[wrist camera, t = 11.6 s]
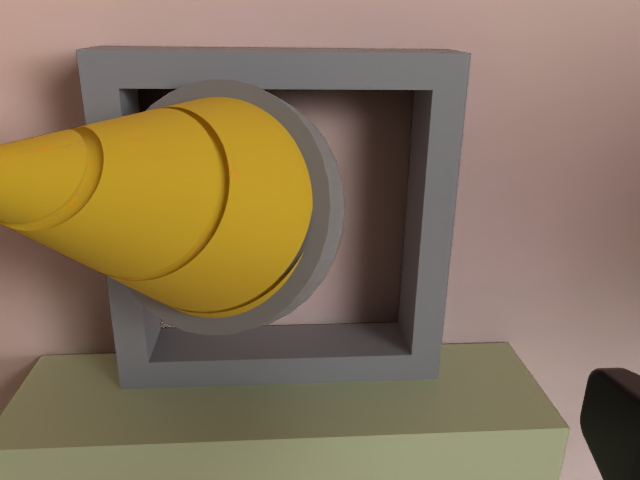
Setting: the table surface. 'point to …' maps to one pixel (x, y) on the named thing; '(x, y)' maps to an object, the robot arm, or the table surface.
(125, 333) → the green box with handle
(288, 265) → the yellow cone shape
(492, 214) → the table surface
